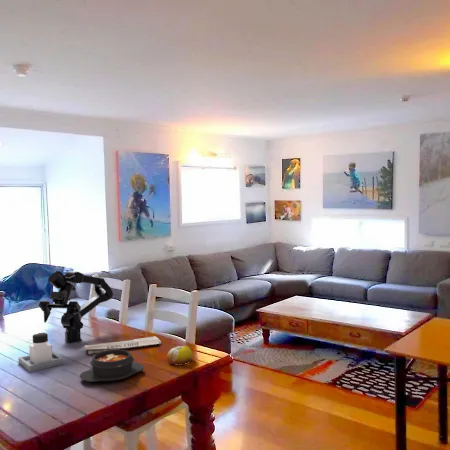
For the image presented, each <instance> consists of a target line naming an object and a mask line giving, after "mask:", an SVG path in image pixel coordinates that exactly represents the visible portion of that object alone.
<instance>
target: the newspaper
mask: <svg viewBox="0 0 450 450" xmlns="http://www.w3.org/2000/svg"><path fill="white" fill-rule="evenodd" d="M157 344H158V345H161V344H162V341H161V340H160V338H158V337H157V336H149V337H148V336H147V337H142V338H141V337H139V338H134V339H127V340H119V341H113V342H104V343H103V342H102V343H95V344H94V343H93V344H89V345H87V344H86V345H84V351H88V354H89V355H93V354H94V355H95V354H97V353H99V352H103V351H107V350H129V349H136V348H143V346H144V347H149V346H150V345H151V346H157Z"/></svg>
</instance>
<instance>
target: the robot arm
mask: <svg viewBox="0 0 450 450" xmlns="http://www.w3.org/2000/svg"><path fill="white" fill-rule="evenodd" d="M47 281H48V283H50V284H51V285H52V286H53V287H55V289H57V290H58V289H59V290H58V291H50V293H49V294H50V296H49V299H50V300H52V303H51V302H49V300H41V301H39V303H38V307H39V309H40V310H41V311H42V312H43V322H44V323H46V322H47V321H48V319H49V318H50V315H51V313H52V312H51V311H52V309H66V310H65V311H66V312H64V313H63V314H62V315H61V317H60V324H61V325H62V327H63V329H65V331H64V341H66V342H68V343H70V344H71V343H75V342H76V343H77V342H80V341H83V339H82V337H81V336H82V335H81V329H83V327H84V323H83V322H82V319H83V317H84V316H86V314H88V313H89V312H91V311H92V310H93V309H94V308H95V307H97V306H98V305H100V304H101V303H105V302H108V301H110V300H112V298H113V295H114V292H113V289H111V286H110V285H109V284H108V283H107V282H106V280H105V279H104V277H98V276H91V275H86V274H83V273H82V272H80V271H71V270H68V271H67V272H66V273H64V274H63V273H62V272H61V271H60V270H56V271H55V272H53V273H52V274H50V275H49V276H48V279H47ZM82 283H85V284H90V285H93V286H94V294H93V296H92V297H91V298H90V299H88V300H87V301H86V302H84V303H82V305H80V304H79V302H78V301H76V300H74V301H73V300H72V301H71V294H72V291H73V292H74V291H76V289H77V288H76V287H75V285H74V284H82Z"/></svg>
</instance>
